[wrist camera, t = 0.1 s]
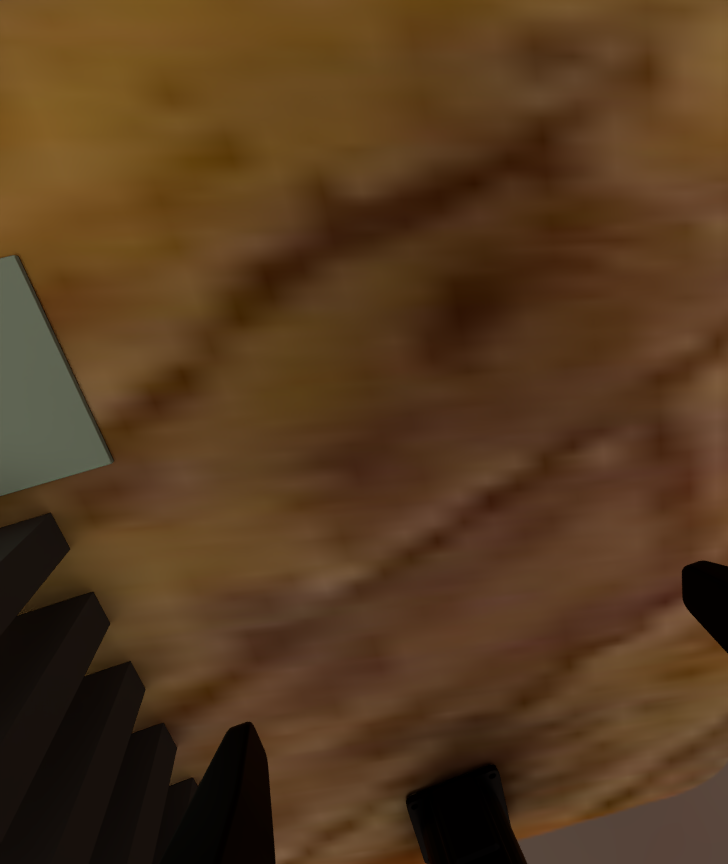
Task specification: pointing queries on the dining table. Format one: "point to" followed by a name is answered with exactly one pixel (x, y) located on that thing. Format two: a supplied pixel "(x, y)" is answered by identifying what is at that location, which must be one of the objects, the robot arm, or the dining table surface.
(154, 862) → the domino
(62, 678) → the domino
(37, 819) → the domino
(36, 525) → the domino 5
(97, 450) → the mat
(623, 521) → the dining table surface
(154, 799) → the domino
